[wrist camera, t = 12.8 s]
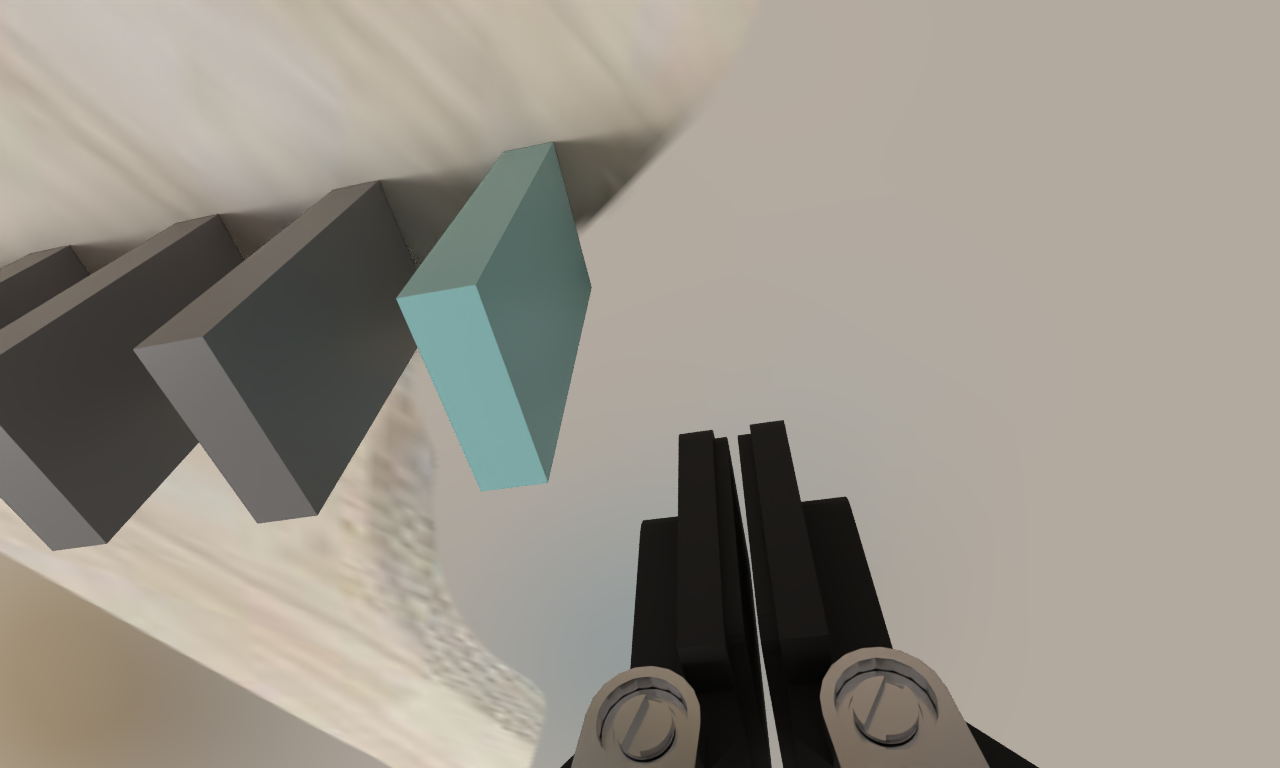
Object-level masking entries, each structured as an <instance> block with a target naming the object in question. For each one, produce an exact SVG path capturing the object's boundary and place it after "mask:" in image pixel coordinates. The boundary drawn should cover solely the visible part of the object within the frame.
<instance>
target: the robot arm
mask: <svg viewBox="0 0 1280 768" xmlns="http://www.w3.org/2000/svg"><path fill="white" fill-rule="evenodd" d="M750 430H751V434H745V435H738V444H739V453H740V462H741V472H742V481H743V489H744V498H745V507H746V517H747V526H748V535H749V543H750V553H751V562H752V571H753V580H754V589H755V598H756V606H757V616H758V624H759V632H760V639H761V646H762V652H763V658H764V664H765V669H766V675H767V680H768V686H769V691H770V696H771V701H772V707H773V713H774V718H775V724H776V730H777V735H778V741H779V746H780V752H781V758H782V763H783V768H1038V767H1037V766H1035V765H1034V764H1032V763H1030V762H1029V761H1027V760H1026V759H1024V758H1022V757H1021V756H1019V755H1018V754H1016V753H1015V752H1013V751H1011V750H1010V749H1008V748H1007V747H1005V746H1004V745H1002V744H1000V743H999V742H997V741H996V740H994V739H992V738H991V737H989V736H988V735H986V734H985V733H983V732H981V731H980V730H978V729H977V728H975V727H973V726H972V725H970V724H969V723H967V722H965V720H964V719H963V717H962V715H961V713H960V711H959V710H958V707H957V705H956V704H955V702H954V700H953V698H952V696H951V694H950V692H949V691H948V689H947V687H946V686H945V684H944V683H943V682H942V680H941V679H940V678H939V676H938V675H937V673H936V672H935V671H934V670H932V669H931V668H930V667H928V666H927V665H926V664H925V663H924V662H922V661H921V660H920V659H918V658H916V657H914V656H911V655H909V654H907V653H905V652H903V651H900V650H895V649H893V648H892V645H891V641H890V638H889V635H888V631H887V628H886V624H885V621H884V618H883V614H882V611H881V607H880V604H879V601H878V597H877V594H876V591H875V587H874V584H873V580H872V577H871V574H870V571H869V567H868V564H867V560H866V557H865V553H864V550H863V547H862V544H861V540H860V537H859V533H858V530H857V527H856V523H855V520H854V516H853V513H852V510H851V507H850V504H849V501H848V499H847V497H839V498H830V499H823V500H813V501H805V502H801V500H800V495H799V490H798V486H797V481H796V476H795V471H794V467H793V462H792V457H791V452H790V447H789V443H788V438H787V434H786V428H785V424H784V420H782V421H774V422H766V423H759V424H752V425H750ZM678 468H679V469H678V471H679V473H678V475H679V476H678V516H677V517H669V518H660V519H652V520H644V521H643V522H642V524H641V531H640V543H639V557H638V571H637V585H636V598H635V614H634V626H633V641H632V655H631V668H630V670H628V671H625V672H622V673H620V674H618V675H617V676H615V677H614V678H612V679H611V680H610V681H608V682H607V683H605V684H604V686H603V687H602V688H601V689H600V690H599V691H598V693H597V694H596V695H595V696H594V697H593V699H592V701H591V704H590V706H589V708H588V710H587V713H586V715H585V719H584V723H583V726H582V730H581V734H580V737H579V740H578V744H577V748H576V751H575V754H574V755H573V756H572V757H571V758H570V759H569V760H568V761H567V762H566V763H565V764H564V765H563V766H562V767H561V768H772V767H771V757H770V748H769V738H768V729H767V721H766V710H765V701H764V692H763V683H762V674H761V664H760V654H759V645H758V636H757V627H756V617H755V608H754V599H753V589H752V580H751V572H750V564H749V557H748V551H747V546H746V540H745V534H744V529H743V523H742V518H741V512H740V506H739V500H738V495H737V490H736V484H735V478H734V472H733V467H732V461H731V455H730V450H729V445H728V439H727V437H723V438H715V437H714V433H713V430H708V431H700V432H693V433H686V434H680V435H679V467H678Z"/></svg>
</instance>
